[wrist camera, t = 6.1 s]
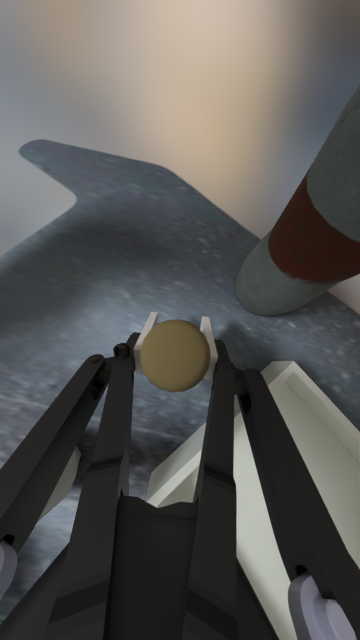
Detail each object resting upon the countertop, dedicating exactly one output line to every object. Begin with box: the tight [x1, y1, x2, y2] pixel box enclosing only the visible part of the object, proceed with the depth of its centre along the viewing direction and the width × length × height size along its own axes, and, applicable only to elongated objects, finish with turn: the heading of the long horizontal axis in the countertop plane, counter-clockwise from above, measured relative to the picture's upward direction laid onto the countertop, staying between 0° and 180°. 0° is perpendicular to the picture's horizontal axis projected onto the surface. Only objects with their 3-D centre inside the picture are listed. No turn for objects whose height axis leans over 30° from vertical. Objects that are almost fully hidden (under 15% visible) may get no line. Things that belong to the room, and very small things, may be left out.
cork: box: [140, 319, 211, 392], centre depth 15 cm, size 6×6×11 cm
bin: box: [145, 361, 360, 640], centre depth 15 cm, size 20×20×4 cm
